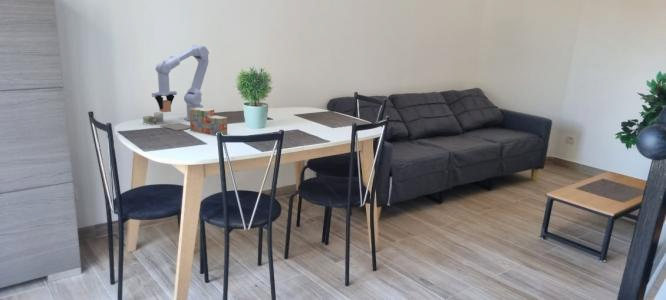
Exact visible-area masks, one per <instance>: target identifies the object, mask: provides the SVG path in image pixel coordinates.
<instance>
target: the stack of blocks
mask: <svg viewBox="0 0 666 300" xmlns="http://www.w3.org/2000/svg"><path fill="white" fill-rule="evenodd" d="M189 113H190V121H189V126H190V129H189V130H190V131H191V132H194V133H198V134H199V133H200V134H206V135H212V136H216V133H217V132H222V134H223V135H222V136H225V135H228V116H221V115H215V109H212V108H206V107H203V108H192V109H189Z"/></svg>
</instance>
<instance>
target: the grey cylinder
mask: <svg viewBox="0 0 666 300" xmlns="http://www.w3.org/2000/svg"><path fill="white" fill-rule="evenodd" d="M153 116H154V117H156V123H163V122H165V121H164V120H165V119H164V112H161V111H157V112H154V113H153ZM162 121H163V122H162Z"/></svg>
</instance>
